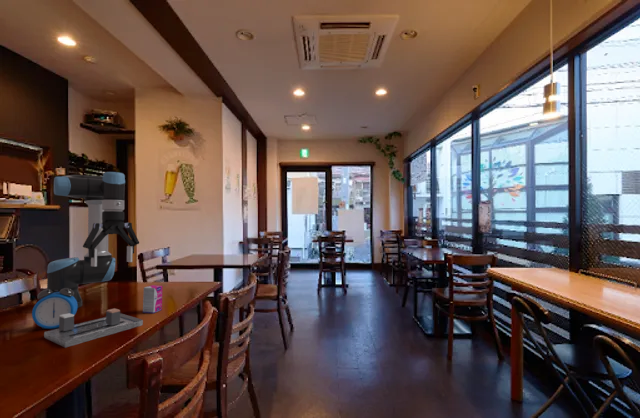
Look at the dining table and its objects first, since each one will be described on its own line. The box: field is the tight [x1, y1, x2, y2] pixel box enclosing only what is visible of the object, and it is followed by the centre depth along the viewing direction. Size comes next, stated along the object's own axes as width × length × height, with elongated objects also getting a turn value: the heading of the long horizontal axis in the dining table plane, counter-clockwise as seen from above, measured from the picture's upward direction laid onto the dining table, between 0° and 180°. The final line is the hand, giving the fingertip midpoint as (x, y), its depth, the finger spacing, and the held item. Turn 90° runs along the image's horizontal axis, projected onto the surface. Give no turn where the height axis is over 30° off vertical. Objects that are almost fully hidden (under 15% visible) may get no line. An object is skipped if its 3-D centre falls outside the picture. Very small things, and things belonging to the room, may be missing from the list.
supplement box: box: [142, 284, 163, 315], centre depth 147 cm, size 6×6×12 cm
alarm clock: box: [31, 288, 79, 331], centre depth 127 cm, size 13×6×15 cm, turn 115°
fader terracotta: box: [105, 307, 121, 326], centre depth 123 cm, size 4×3×5 cm
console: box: [43, 312, 144, 349], centre depth 122 cm, size 17×26×2 cm, turn 149°
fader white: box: [58, 313, 75, 331], centre depth 117 cm, size 4×3×5 cm
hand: (112, 264), depth 128 cm, fingers open, 13 cm apart
